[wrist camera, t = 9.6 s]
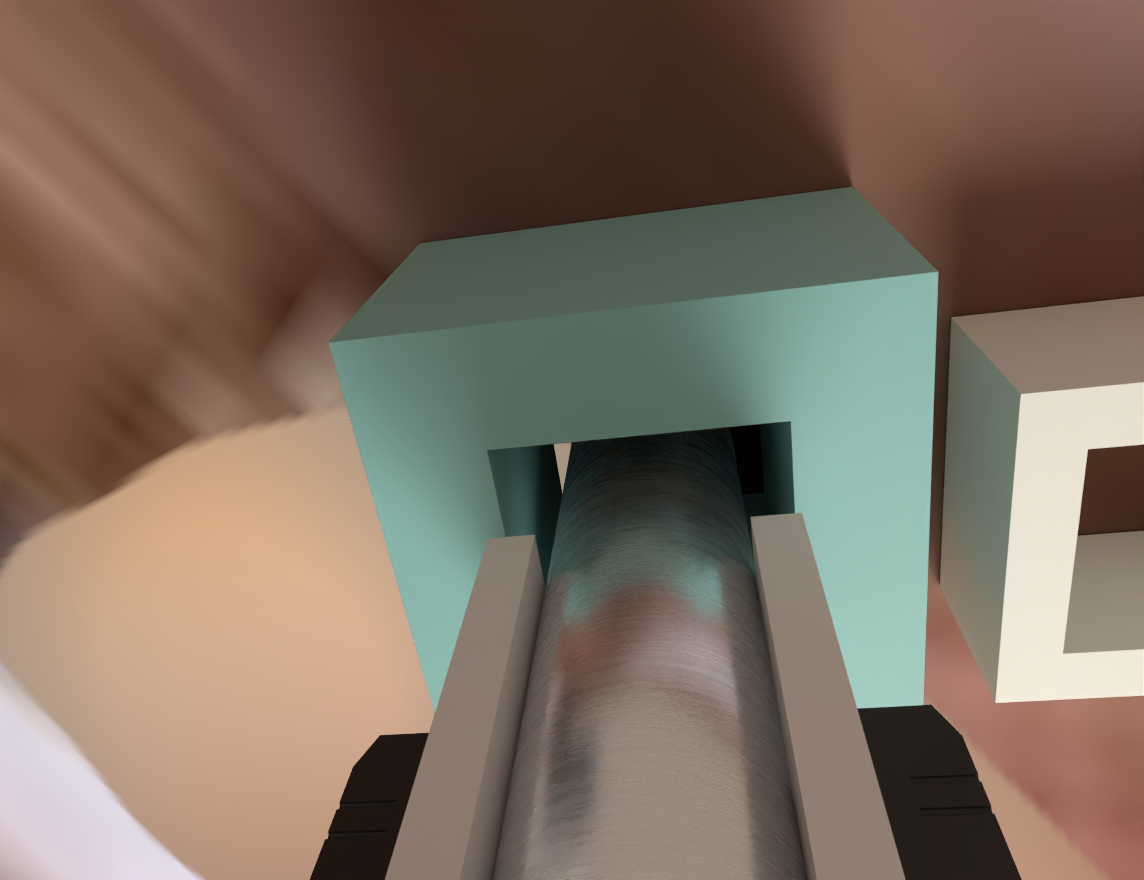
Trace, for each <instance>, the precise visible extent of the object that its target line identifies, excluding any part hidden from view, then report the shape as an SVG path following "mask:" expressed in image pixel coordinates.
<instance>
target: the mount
mask: <svg viewBox="0 0 1144 880" xmlns="http://www.w3.org/2000/svg"><path fill="white" fill-rule="evenodd" d="M1143 444H1144V296H1142V297H1133V298H1124V299H1114V300H1105V301H1096V302H1087V303H1078V304H1069V305H1060V306H1050V307H1041V308H1032V309H1023V310H1014V311H1005V312H995V313H986V314H977V315H968V316H959V317H951V335H950V358H949V382H948V405H947V429H946V452H945V476H944V499H943V522H942V546H941V569H940V588H941V590H942V592H943V594H944V596H945V599H946V601H947V603H948V605H949V607H950V609H951V611H952V613H953V615H954V617H955V619H956V622H957V624H958V626H959V628H960V630H961V632H962V634H963V636H964V638H965V640H966V642H967V645H968V647H969V649H970V651H971V653H972V655H973V657H974V659H975V661H976V663H977V665H978V668H979V670H980V672H981V674H982V676H983V678H984V680H985V682H986V684H987V686H988V688H989V690H990V693H991V695H992V697H993V699H994V701H995V703H1003V702H1022V701H1042V700H1062V699H1082V698H1101V697H1121V696H1141V695H1144V531H1134V532H1121V533H1107V534H1094V535H1081V536H1077V534H1078V526H1079V518H1080V510H1081V502H1082V494H1083V485H1084V477H1085V469H1086V461H1087V453H1088V449H1097V448H1109V447H1120V446H1131V445H1143Z"/></svg>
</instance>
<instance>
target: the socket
mask: <svg viewBox="0 0 1144 880" xmlns="http://www.w3.org/2000/svg"><path fill="white" fill-rule="evenodd" d="M937 297H938V271H937V270H936V269H935V268H934V267H933V266H932V265H931V264H930V263H929V262H928V261H927V260H926V259H925V258H924V257H923V256H922V255H921V254H920V253H919V252H918V251H917V250H916V249H915V248H914V247H913V246H912V245H911V244H910V243H909V242H908V241H907V240H906V239H905V238H904V237H903V236H902V235H901V234H900V233H899V232H898V231H897V230H896V229H895V228H894V227H893V226H892V225H891V224H890V223H889V222H888V221H887V220H886V219H885V218H884V217H883V216H882V215H881V214H880V213H879V212H878V211H877V210H876V209H875V208H874V207H873V206H872V205H871V204H870V203H869V202H868V201H867V200H866V199H865V198H864V197H863V196H862V195H861V194H860V193H859V192H858V191H857V190H856V189H855V188H854V187H846V188H838V189H831V190H823V191H816V192H808V193H800V194H793V195H785V196H777V197H770V198H762V199H754V200H747V201H739V202H732V203H724V204H716V205H709V206H701V207H693V208H686V209H678V210H670V211H663V212H655V213H648V214H640V215H632V216H625V217H617V218H609V219H602V220H594V221H587V222H579V223H571V224H564V225H556V226H548V227H541V228H533V229H525V230H518V231H510V232H503V233H495V234H487V235H480V236H472V237H464V238H457V239H449V240H441V241H434V242H426V243H420V244H419V245H418V246H417V247H416V248H415V249H414V250H413V251H412V253H411V254H410V255H409V256H408V257H407V258H406V259H405V260H404V261H403V262H402V263H401V264H400V266H399V267H398V268H397V269H396V270H395V271H394V272H393V273H392V274H391V275H390V276H389V277H388V279H387V280H386V281H385V282H384V283H383V284H382V285H381V286H380V287H379V288H378V289H377V290H376V292H375V293H374V294H373V295H372V296H371V297H370V298H369V299H368V300H367V301H366V302H365V304H364V305H363V306H362V307H361V308H360V309H359V310H358V311H357V312H356V313H355V314H354V315H353V317H352V318H351V319H350V320H349V321H348V322H347V323H346V324H345V325H344V326H343V327H342V328H341V330H340V331H339V332H338V333H337V334H336V335H335V336H334V337H333V338H332V339H331V340H330V342H329V347H330V350H331V354H332V357H333V360H334V364H335V367H336V371H337V374H338V378H339V381H340V385H341V388H342V392H343V395H344V399H345V402H346V406H347V409H348V413H349V416H350V420H351V423H352V427H353V430H354V434H355V437H356V441H357V444H358V447H359V451H360V455H361V458H362V461H363V465H364V469H365V472H366V475H367V479H368V482H369V486H370V489H371V493H372V496H373V500H374V503H375V507H376V510H377V514H378V517H379V521H380V524H381V528H382V531H383V535H384V538H385V542H386V545H387V548H388V552H389V555H390V559H391V563H392V566H393V570H394V573H395V577H396V580H397V583H398V587H399V591H400V594H401V598H402V601H403V605H404V608H405V612H406V615H407V618H408V622H409V625H410V629H411V632H412V636H413V639H414V643H415V646H416V650H417V653H418V657H419V660H420V663H421V667H422V671H423V674H424V678H425V681H426V685H427V688H428V691H429V695H430V699H431V702H432V706H433V709H434V713H435V711H436V708H437V705H438V701H439V698H440V695H441V692H442V688H443V685H444V682H445V678H446V675H447V672H448V668H449V665H450V662H451V658H452V655H453V652H454V648H455V645H456V642H457V638H458V635H459V632H460V628H461V625H462V622H463V619H464V615H465V612H466V609H467V605H468V602H469V599H470V595H471V592H472V589H473V585H474V582H475V579H476V575H477V572H478V569H479V565H480V562H481V559H482V555H483V552H484V549H485V545H486V542H487V539H488V538H499V537H511V536H524V535H535V538H536V544H537V549H538V554H539V559H540V564H541V569H542V574H543V579H544V584H545V588H546V583H547V577H548V572H549V566H550V561H551V555H552V550H553V544H554V539H555V533H556V527H557V522H558V516H559V511H560V505H561V500H562V489H561V484H560V478H559V473H558V467H557V461H556V455H555V450H554V444H557V443H567V442H578V441H588V440H599V439H609V438H620V437H630V436H640V435H651V434H661V433H672V432H682V431H693V430H703V429H713V428H724V427H734V426H745V425H755V424H760V433H761V450H762V466H763V483H764V493H754V494H743V495H742V497H743V503H744V509H745V514H746V520H747V526H748V532H749V537H750V543H751V549H752V554H753V543H752V529H751V517H755V516H768V515H780V514H792V513H802V515H803V518H804V522H805V525H806V529H807V532H808V536H809V540H810V543H811V547H812V550H813V554H814V557H815V561H816V564H817V568H818V571H819V575H820V579H821V582H822V586H823V589H824V593H825V596H826V600H827V603H828V607H829V610H830V614H831V618H832V621H833V625H834V628H835V632H836V635H837V639H838V642H839V646H840V649H841V653H842V656H843V660H844V664H845V667H846V671H847V674H848V678H849V681H850V685H851V688H852V692H853V695H854V699H855V703H856V706H857V708H877V707H896V706H916V705H923V697H924V668H925V639H926V611H927V582H928V554H929V525H930V497H931V468H932V440H933V411H934V383H935V354H936V326H937ZM753 560H754V557H753Z"/></svg>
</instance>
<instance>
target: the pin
mask: <svg viewBox="0 0 1144 880" xmlns="http://www.w3.org/2000/svg"><path fill="white" fill-rule="evenodd" d="M493 880H807V875H806V869H805V863H804V857H803V852H802V846H801V840H800V834H799V828H798V823H797V817H796V811H795V805H794V799H793V794H792V788H791V782H790V776H789V770H788V765H787V759H786V753H785V747H784V742H783V736H782V730H781V724H780V718H779V713H778V707H777V701H776V695H775V689H774V684H773V678H772V672H771V666H770V660H769V655H768V649H767V643H766V637H765V631H764V626H763V620H762V614H761V608H760V602H759V597H758V591H757V585H756V579H755V572H754V560H753V554H752V549H751V543H750V537H749V532H748V526H747V520H746V514H745V509H744V503H743V497H742V492H741V486H740V480H739V475H738V469H737V463H736V457H735V452H734V446H733V440H732V435H731V429H730V427H724V428H713V429H703V430H693V431H682V432H672V433H661V434H651V435H640V436H630V437H620V438H609V439H599V440H588V441H578V442H572V445H571V450H570V456H569V462H568V467H567V473H566V478H565V483H564V489H563V494H562V500H561V505H560V511H559V516H558V522H557V527H556V533H555V539H554V544H553V550H552V555H551V561H550V566H549V572H548V577H547V583H546V588H545V594H544V599H543V605H542V610H541V616H540V621H539V627H538V632H537V638H536V644H535V649H534V655H533V660H532V666H531V671H530V677H529V682H528V688H527V693H526V699H525V704H524V710H523V715H522V721H521V726H520V732H519V737H518V743H517V748H516V754H515V760H514V765H513V771H512V776H511V782H510V787H509V793H508V798H507V804H506V809H505V815H504V820H503V826H502V831H501V837H500V842H499V848H498V853H497V859H496V865H495V870H494V876H493Z"/></svg>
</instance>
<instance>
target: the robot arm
mask: <svg viewBox="0 0 1144 880" xmlns="http://www.w3.org/2000/svg"><path fill="white" fill-rule="evenodd" d="M751 529H752V543H753V557H754V572H755V579H756V585H757V591H758V597H759V602H760V608H761V614H762V620H763V626H764V631H765V637H766V643H767V649H768V655H769V660H770V666H771V672H772V678H773V684H774V689H775V695H776V701H777V707H778V713H779V718H780V724H781V730H782V736H783V742H784V747H785V753H786V759H787V765H788V770H789V776H790V782H791V788H792V794H793V799H794V805H795V811H796V817H797V823H798V828H799V834H800V840H801V846H802V852H803V857H804V863H805V869H806V875H807V880H1021V877H1020V875H1019V872H1018V870H1017V867H1016V865H1015V863H1014V860H1013V858H1012V855H1011V853H1010V850H1009V848H1008V846H1007V843H1006V841H1005V838H1004V836H1003V834H1002V831H1001V829H1000V826H999V824H998V822H997V819H996V817H995V814H993V813H992V810H991V804H990V802H989V800H988V797H987V795H986V792H985V790H984V787H983V785H982V783H981V782H979V779H978V773H977V770H976V768H975V766H974V763H973V761H972V758H971V756H970V753H969V751H968V749H967V746H966V744H965V741H964V739H963V736H962V735H961V734H960V733H959V732H958V731H957V730H956V729H955V728H954V727H953V726H952V725H951V724H950V723H949V722H948V721H947V720H946V719H945V718H944V717H943V716H942V715H941V714H940V713H939V712H938V711H937V710H936V709H935V708H934V707H933V706H932V705H916V706H896V707H877V708H857V706H856V703H855V699H854V695H853V692H852V688H851V685H850V681H849V678H848V674H847V671H846V667H845V664H844V660H843V656H842V653H841V649H840V646H839V642H838V639H837V635H836V632H835V628H834V625H833V621H832V618H831V614H830V610H829V607H828V603H827V600H826V596H825V593H824V589H823V586H822V582H821V579H820V575H819V571H818V568H817V564H816V561H815V557H814V554H813V550H812V547H811V543H810V540H809V536H808V532H807V529H806V525H805V522H804V518H803V515H802V513H792V514H780V515H768V516H755V517H751ZM544 594H545V584H544V579H543V574H542V569H541V564H540V559H539V554H538V549H537V544H536V538H535V535H524V536H511V537H499V538H488V539H487V542H486V545H485V549H484V552H483V555H482V559H481V562H480V565H479V569H478V572H477V575H476V579H475V582H474V585H473V589H472V592H471V595H470V599H469V602H468V605H467V609H466V612H465V615H464V619H463V622H462V625H461V628H460V632H459V635H458V638H457V642H456V645H455V648H454V652H453V655H452V658H451V662H450V665H449V668H448V672H447V675H446V678H445V682H444V685H443V688H442V692H441V695H440V698H439V701H438V705H437V708H436V711H435V715H434V719H433V721H432V725H431V728H430V732H429V733H416V734H398V735H380V736H379V737H378V738H377V740H376V741H375V742H374V743H373V744H372V745H371V747H370V748H369V749H368V750H367V751H366V753H365V754H364V755H363V756H362V757H361V758H360V760H359V761H358V762H357V763H356V764H355V765H354V767H353V769H352V772H351V774H350V777H349V779H348V782H347V785H346V787H345V790H344V792H343V795H342V797H341V800H340V808H339V809H337V810H336V813H335V816H334V818H333V821H332V824H331V826H330V828H329V831H328V833H329V836H328V839H326V840H325V841H324V845H323V847H322V849H321V852H320V854H319V857H318V860H317V862H316V865H315V867H314V870H313V873H312V875H311V878H310V880H493V876H494V870H495V865H496V859H497V853H498V848H499V842H500V837H501V831H502V826H503V820H504V815H505V809H506V804H507V798H508V793H509V787H510V782H511V776H512V771H513V765H514V760H515V754H516V748H517V743H518V737H519V732H520V726H521V721H522V715H523V710H524V704H525V699H526V693H527V688H528V682H529V677H530V671H531V666H532V660H533V655H534V649H535V644H536V638H537V632H538V627H539V621H540V616H541V610H542V605H543V599H544Z"/></svg>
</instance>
